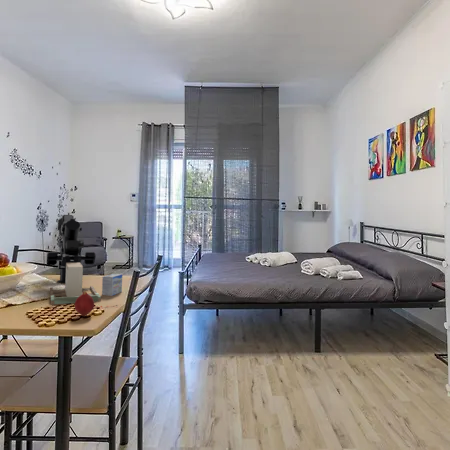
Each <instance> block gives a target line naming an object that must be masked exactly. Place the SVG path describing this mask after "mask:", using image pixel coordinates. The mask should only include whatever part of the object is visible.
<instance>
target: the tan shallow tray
mask: <svg viewBox="0 0 450 450" xmlns="http://www.w3.org/2000/svg"><path fill="white" fill-rule="evenodd" d="M84 291H85V292H87V291H91V293H87V294H88V295H90V296H91V297H92V298H93V300H94V303H95V302H101V301H102V298H101V295H100V293H99V292H97V290H96V288H94V285H89V288H88V287H87V288H83V287H82V294H83V292H84ZM49 297H50V304H51V305H61V304H75V301H76V299H77V298H78V297H79V296H73V297H67V295H66V292H65V288H64V289H53V287H49Z"/></svg>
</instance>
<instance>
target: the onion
mask: <svg viewBox="0 0 450 450" xmlns="http://www.w3.org/2000/svg"><path fill="white" fill-rule="evenodd" d="M88 294H89V293H87V291H84V292H83V294H82V295H80V296H79V297H78V298H77V299H76V301H75V303H74V309H75V311H76V312H77V313H78V314H80V316H82V317H86V316H87V315H89V314H90V313H91V312H92V311H93V310H94V308H95V302H94V300H93V298H92V297H91V296H90V295H88ZM85 315H86V316H85Z"/></svg>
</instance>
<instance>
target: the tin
mask: <svg viewBox="0 0 450 450" xmlns="http://www.w3.org/2000/svg"><path fill="white" fill-rule="evenodd" d="M83 270H84V266H83V264H82V263H66V280H65V283H64V284H65V285H64V289H65V292H66V295H67V297H73V296H80V295H82V289H83V277H84V276H83V274H84V271H83Z"/></svg>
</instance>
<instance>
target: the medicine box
mask: <svg viewBox="0 0 450 450" xmlns="http://www.w3.org/2000/svg"><path fill="white" fill-rule="evenodd" d="M101 285H102V286H101V294H102V296H109V297H110V296H111V297H112V296H115V295H117V294H120V293H122V292H123V274H120V273H112V274H107V275H105V276H102V284H101Z"/></svg>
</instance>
